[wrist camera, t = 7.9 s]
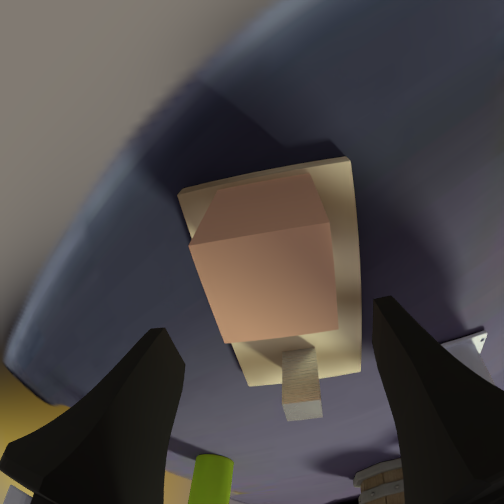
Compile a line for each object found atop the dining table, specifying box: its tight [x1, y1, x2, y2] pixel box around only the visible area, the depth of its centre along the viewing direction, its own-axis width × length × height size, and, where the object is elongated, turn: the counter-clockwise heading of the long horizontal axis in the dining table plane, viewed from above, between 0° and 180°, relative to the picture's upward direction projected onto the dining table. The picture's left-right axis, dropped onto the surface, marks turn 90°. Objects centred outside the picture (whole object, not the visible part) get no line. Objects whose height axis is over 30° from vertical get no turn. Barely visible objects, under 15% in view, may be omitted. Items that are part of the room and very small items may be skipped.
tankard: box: [353, 458, 405, 504], centre depth 33 cm, size 20×13×15 cm, turn 145°
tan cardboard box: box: [189, 173, 338, 343], centre depth 15 cm, size 5×5×7 cm
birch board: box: [177, 156, 362, 386], centre depth 21 cm, size 18×10×1 cm, turn 13°
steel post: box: [282, 347, 323, 421], centre depth 21 cm, size 3×3×5 cm
